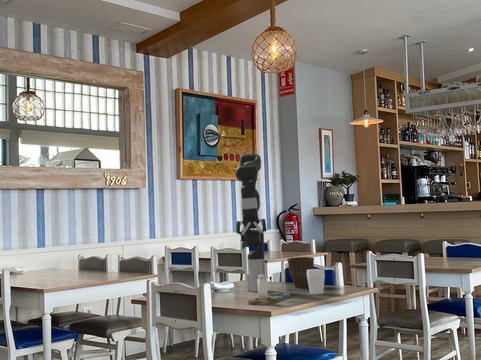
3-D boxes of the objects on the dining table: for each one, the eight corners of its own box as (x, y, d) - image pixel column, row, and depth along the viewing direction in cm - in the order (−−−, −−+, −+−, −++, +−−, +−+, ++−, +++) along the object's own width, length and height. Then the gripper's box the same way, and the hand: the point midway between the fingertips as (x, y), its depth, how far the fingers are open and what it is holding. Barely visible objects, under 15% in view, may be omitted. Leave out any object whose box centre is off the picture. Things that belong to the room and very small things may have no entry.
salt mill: (256, 303, 272) (255, 275, 272) (261, 302, 275) (259, 274, 276) (265, 303, 269) (264, 275, 270) (269, 302, 273) (268, 274, 274)
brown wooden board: (248, 305, 269) (248, 300, 269) (273, 297, 292) (273, 292, 292) (266, 306, 265) (265, 301, 265) (290, 298, 288) (290, 293, 288)
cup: (322, 291, 305) (321, 268, 306) (328, 294, 296) (326, 269, 297) (305, 293, 304) (304, 269, 305) (310, 295, 295) (309, 271, 296)
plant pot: (318, 287, 323) (317, 258, 324) (291, 289, 321) (290, 259, 322) (311, 284, 337) (310, 256, 338) (286, 286, 335) (284, 258, 336)
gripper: (237, 209, 275) (240, 243, 275) (266, 206, 279) (269, 240, 279) (233, 208, 282) (235, 242, 282) (261, 206, 286) (264, 239, 286)
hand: (252, 241), depth 280 cm, fingers open, 8 cm apart
